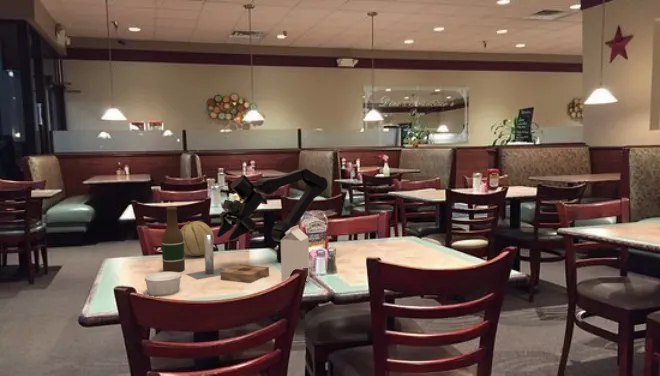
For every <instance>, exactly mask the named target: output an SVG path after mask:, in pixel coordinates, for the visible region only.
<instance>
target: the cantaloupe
mask: <svg viewBox="0 0 660 376" xmlns="http://www.w3.org/2000/svg"><path fill="white" fill-rule="evenodd" d="M179 230H180V231H181V232H182V235H183V238H184V255H187V256H190V257H201V256H203V255H204V256H205V248H204V235H206V234H212V235H213V243H214V242H215V236H214V232H213V230H212V228H211V227H210V226H209V225H208V224H207V223H205V222H203V221H199V220H198V221H187V223H186V224H184V225H183V226H182V227H181V228H180V229H179Z"/></svg>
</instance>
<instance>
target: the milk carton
mask: <svg viewBox="0 0 660 376" xmlns="http://www.w3.org/2000/svg"><path fill="white" fill-rule="evenodd" d="M299 226H300V225H299V224H296V226H295V227H292V228H290V230H288V231H287V232H286V233H285V234H286V236H285V237H283V238H282V239H281V262H280V264H281V265H280V266H281V267H280V269H281V271H280V272H281V282H282V281H284V280H286V279H287V278H288V277H289V276H290V274H291V273H292V271H293V270H295V269H303V268H308V278H307V282H306V283H308V282H309V281H310V257H309V256H310V255H309V250H310V249H309V248H310V247H309V245H310V244H309V236H308V235H307V234H306V233H305V232H303V230H302V229H300V227H299Z"/></svg>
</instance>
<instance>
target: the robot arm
mask: <svg viewBox="0 0 660 376" xmlns="http://www.w3.org/2000/svg"><path fill="white" fill-rule="evenodd" d="M298 181H302V183H304V184H305V186H304V192H303V193H302V195H301V197H300V198H299V199H298V200H297V202H296V204H295V205H294V206H293V208H292V209H291V211H290V212H289V213H288V215H287V216H286V218H285V219H284V220H280V219H279V220H277V221H276V223H275V224H274V226H273V227H271V229H272V230H271V233H270V235H271V238H272V239H271V240H273V241H274V243H275V245H277V248H276V261H277V262H278V263H281V239H282V238H283V237H285V236H286V234H285V233H286V232H287V231H288V230H290V228H292V227H295V226H297V225H298V224H299V222H300V221H301V218H302V217H303V216H304V214H305V213H306V211H307V210H308V209H309V207H310V206H311V204H312V203H313V201H314V200H315V199H316V198H317V197H319V196H321V195H322V194H323V193H324V192H325V191H326V190H327V189H328V187H329V186H328V179H327V178H326V177H324V176H320V175H319V174H316V173H314V172H312V171H311V170H309V169H308V168H304V167H303V168H302V167H301V168H298V169H296V170H293V171H290V172H286V173H284V174H281V175H278V176H274V177H266V178H265V177H264V178H259V179H257V180H256V181H254V182H251V180H249V179H248V177H247V175H245V174H241V175H240V176H239V177H237V178H236V179H235V180H233V181H232V182H231V184H230V188H231V189H232V191H234V192H235V193H236V195H238V196H239V198H244V199H243V201H242V202H241V201H240V200H239V199H234V200H233V201H232V200H231V199H230V200H229V199H224V202H223V203H222V206H221V208H222V209H226V210H225V211H221V213H219V219H220V221H221V222H220V227H219V229H218V230H217V234H216V237H217V238H220V237H222V236H223V235H225V234H226V233H228V232H229V231H231V230H232V229H233V230H232V232H231V234H230V235H229V236H228V241H229V242H231V241H233V240H235V239H238V237H241V236H242V235H245V234H247V233H250V232H254V231H255V229H256V228H257V222H255V221H254V219H253V218H252V216H255V215H256V210H257V209H258V208H259V207H260V206H261V204H262V205H268V197H267V196H263V195H271V194H274V193H275V192H276V191H278V190H279V189H280V188H282V187H285V186H288V185H291V184H293V183H296V182H298ZM227 210H228V211H227ZM234 226H235V227H234Z"/></svg>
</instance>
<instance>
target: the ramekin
mask: <svg viewBox="0 0 660 376" xmlns="http://www.w3.org/2000/svg"><path fill="white" fill-rule="evenodd" d="M181 278H182V274H181V272H163V271H159V272H154V273H153V272H152V273H149V274H148V275H147V274H146V276H145V277H144V282H145V285H146V290H147V292H148V294H150V295H151V296H168V295H173V294H176V293H177V292H178V291H179V290H180V286H181Z"/></svg>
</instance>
